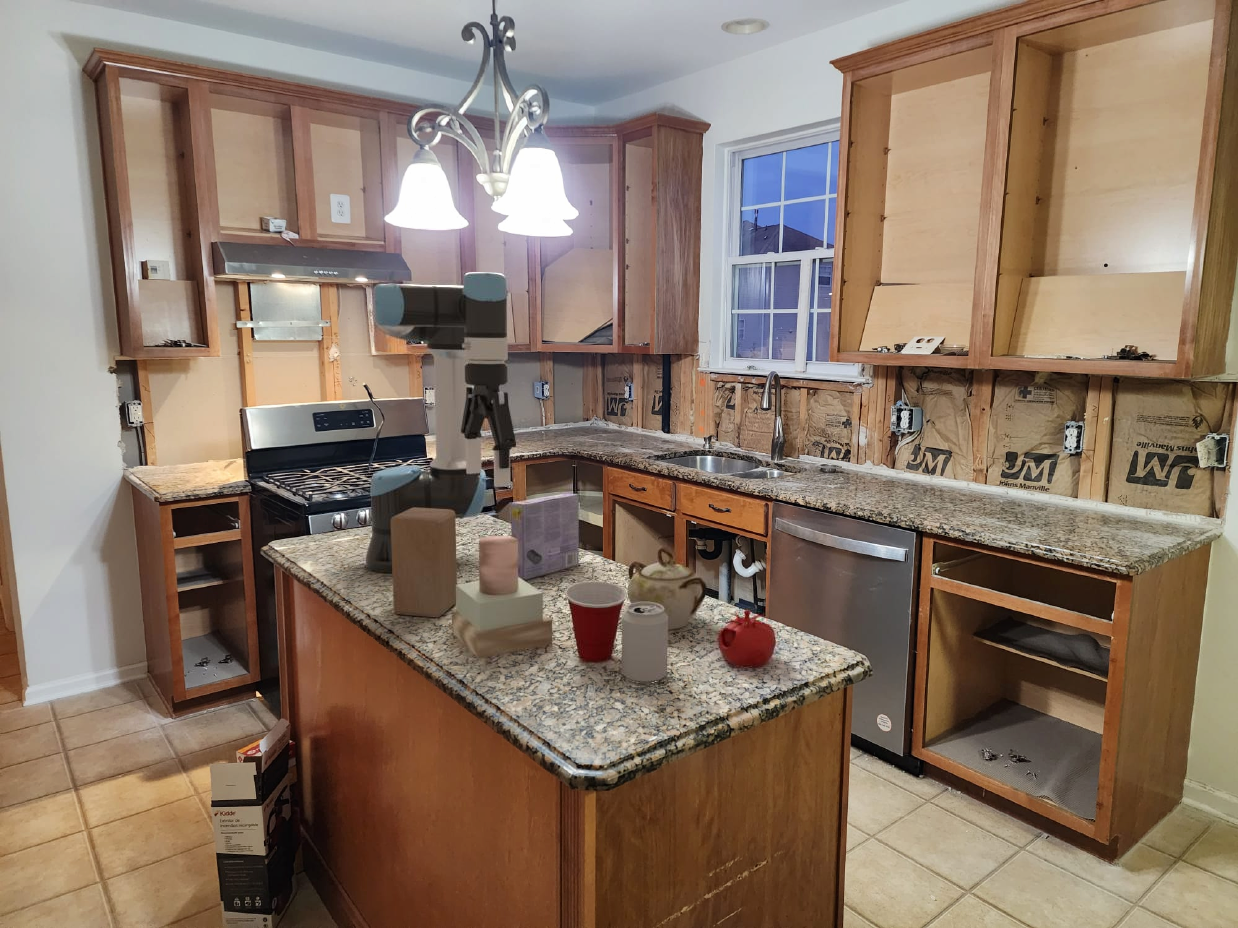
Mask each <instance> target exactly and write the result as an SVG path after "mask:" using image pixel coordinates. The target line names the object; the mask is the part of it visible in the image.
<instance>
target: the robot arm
mask: <svg viewBox="0 0 1238 928" xmlns="http://www.w3.org/2000/svg"><path fill="white" fill-rule="evenodd" d="M462 282H463V284H462V285H441V284H439V285H435V284H432V285H430V284H429V285H427V284H426V285H425V284H423V285H422V284H399V283H398V284H397V283H394V282H393V283H380V284H379V283H377V284H376V285H375V286H374V287H373V292H372V293H373V296H372V297H373V300H372V301H373V306H372V319H373V323H374V325H375V326H376V327H377V328H378V330H380V331H381V332H382V333H384V334H385V335H387V336H390V337H392V338H395V339H398V340H403V341H409V342H419V343H420V342H423V343H424V342H425V343H426V349H427V351H428V352H429V353H430V354H431V355H432V357H433V360H434V361H433V363H434V364H433V367H434V368H433V370H434V371H433V372H434V412H435V414H434V416H435V420H434V421H435V451H436V452H435V455H436V456H435V458H434V459H432V461H430V464H429V470H428V471H422V469H421V467H420V466H419V465H414V464H413V465H400V466H394V467H389V468H386V469H385V468H384V469H382V470H379V471H377V472H375V473H374V474H373V475H372V476H371V478H370V491H369V496H370V501H371V502H370V504H371V508H370V509H371V536H370V537H371V538H370V541H369V545H368V547H367V551H366V555H365V568H366V569H368V570H370V571H372V572H378V573H387V574H388V573H389V574H390V573H391V574H392V546H391V518H392V517H394V516H396V515H398V514H400V513H402V512H404V511H407V510H409V509H411V508H414V507H416V508H433V509H451V510H453V511H455V519H460V520H461V519H465V518H472V517H473V518H474V517H478V516H479V514H481V512H482V511H483V508H484V504H485V500H486V492H487V491H486V490H487V483H486V482H487V475H486V472H485V470H484V469H483V468H482V439H481V438H483V436H482V432H481V431H482V428H483V424H484V422H485V419H487V422H488V425H489V428H490V432H491V435H492V439H493V441H494V446H493V447H492V450H493V487H495V488H501V487H502V488H503V487H510V486H511V450H512V448H516V447H517V441H516V436H515V431H514V426H513V421H512V420H513V419H512V417H511V416H512V414H511V411H510V405H509V393H508V392H507V391H500V386H501V385H502V386H504V385H506V384H507V383H508V377H509V376H508V364H507V363H505V361H507V360H508V359H509V358H508V357H509V355H508V353H509V352H508V346H509V345H508V320H507V319H508V296H509V293H508V290H507V278H506V276H505V275H504V274H502V273H500V272H499V273H498V272H485V271H484V272H482V271H480V272H478V271H476V272H473V271H472V272H467V273H465V274H464V275H463V281H462Z"/></svg>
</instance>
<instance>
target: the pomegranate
mask: <svg viewBox="0 0 1238 928" xmlns="http://www.w3.org/2000/svg"><path fill="white" fill-rule="evenodd" d="M743 613H744V616H740V615H739V614H737V613H730V615H731V616H735V617H736V618H735V619H730V620H728V621H727V622H725V624H727V625H726V626H725V627H723V628H721V630H720V631H719V633H718V636H717V644H718V649H719V650H720V653H721V656H722V657H723V659H724V660H726V662H727V663H728V664H732V665H734V666H736V667H739V668H743V667H749V668H759V667H763V666H765V665H766V664H767V663H768V662H769V661H770V660H771V658H772V657H773V654H774V650H775V649H776V646H777V645H776V644H777V640H776V634H775V630H774V628H773V627H772V626H771V625H770V624H769V623H767V622H766V623H765V622H764V621H760V620H758V618H759V617H761V618H764V616H763V615H761V614H756V615H755V616H753V617H750V614H751V610H750V609H746V610H745V609H744V612H743Z"/></svg>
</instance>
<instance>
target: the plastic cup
mask: <svg viewBox="0 0 1238 928" xmlns="http://www.w3.org/2000/svg"><path fill="white" fill-rule="evenodd" d="M564 595H565V598H566V600H567V603H568V606H569V611H570V615H571V623H572V628H573V635H574V639H575V643H576V651H577V654H578V657H579V659H580V660H582V661H583V662H585V663H586V662H587V663H594V664H595V663H604V662H606V661H608V660H610V659H611V658H612V655H613V652H614V647H615V646H614V645H615V641H616V638H617V633H618V627H619V621H620V617H621V616H620V615H621V611H622V608H623V605H624V602H625V601H626V599H627V598H628V593H627V590H626V589H625V588H623V587H622V586H620V585H618V584H615V583H613V582H608V581H597V580H594V581H591V580H589V581H586V580H585V581H581V582H577V583H573V584H572V585H570V586H568V587H566V589H565V590H564Z"/></svg>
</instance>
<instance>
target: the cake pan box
mask: <svg viewBox="0 0 1238 928" xmlns="http://www.w3.org/2000/svg"><path fill="white" fill-rule="evenodd" d="M579 498H580V497H579V494H577V493H561V494H555V495H549V496H542V497H536V498H531V499H526V500H520V501H514V502H510V522H511V523H510V525H511V526H510V528H511V529H510V531H511V534H510V535H511V536H510V537H514V538H516V539H518V577H519V578H521V579H522V580H524V581H525V582H526V581H527V580H531V579H534V578H538V577H540V576H541V577H542V576H547V575H549V574H553V573H557V572H560V571H563V570H566V569H571V568H572V567H577V566H579V564H580V561H579V560H580V559H579V558H580V557H579V555H580V553H579V552H580V550H579V549H580V546H579V541H580V537H579V536H580V535H579V533H580V531H579V526H580V525H579V524H580V523H579V522H580V521H579V520H580V519H579V516H580V514H579V513H580V512H579V511H580V510H579V508H580V507H579V502H580V499H579Z"/></svg>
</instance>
